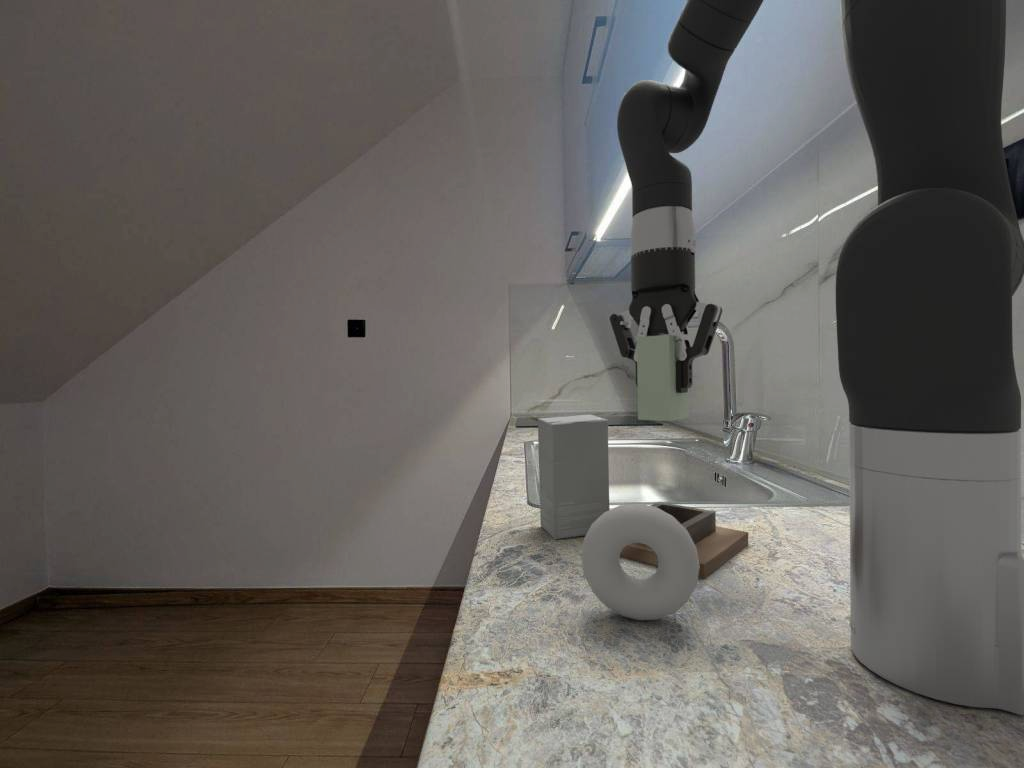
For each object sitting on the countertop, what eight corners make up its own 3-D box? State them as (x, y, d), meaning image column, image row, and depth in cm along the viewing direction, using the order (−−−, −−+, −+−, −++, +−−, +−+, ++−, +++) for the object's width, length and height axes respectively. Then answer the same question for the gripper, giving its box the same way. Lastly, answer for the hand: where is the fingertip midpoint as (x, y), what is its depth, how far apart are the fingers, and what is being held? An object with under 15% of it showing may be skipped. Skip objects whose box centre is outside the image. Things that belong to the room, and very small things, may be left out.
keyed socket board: (748, 544, 61) (748, 512, 61) (704, 578, 51) (704, 540, 51) (645, 522, 71) (645, 495, 71) (591, 548, 60) (590, 516, 60)
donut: (698, 615, 43) (697, 502, 43) (702, 635, 40) (701, 512, 40) (584, 603, 46) (583, 496, 46) (579, 620, 42) (578, 505, 42)
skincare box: (591, 521, 72) (590, 413, 72) (613, 536, 65) (612, 417, 65) (536, 526, 70) (535, 415, 70) (553, 542, 63) (552, 419, 63)
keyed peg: (669, 421, 57) (669, 334, 57) (637, 419, 59) (636, 337, 59) (689, 417, 61) (688, 337, 61) (658, 416, 64) (657, 339, 64)
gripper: (595, 257, 62) (597, 393, 62) (711, 234, 53) (713, 394, 53) (623, 267, 67) (625, 391, 68) (732, 248, 58) (733, 392, 58)
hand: (663, 391), depth 60 cm, fingers closed on keyed peg, 4 cm apart
